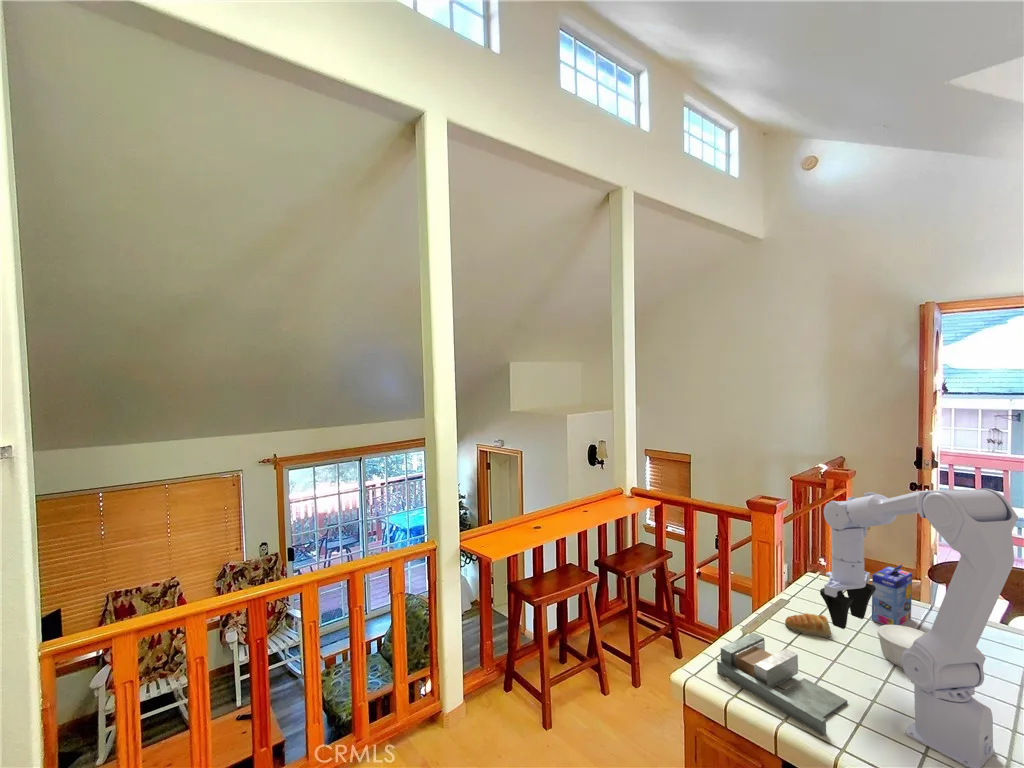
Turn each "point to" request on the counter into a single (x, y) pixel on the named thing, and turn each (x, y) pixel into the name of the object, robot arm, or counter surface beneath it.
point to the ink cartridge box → (892, 596)
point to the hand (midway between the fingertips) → (848, 621)
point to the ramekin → (896, 641)
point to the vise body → (795, 701)
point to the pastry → (809, 624)
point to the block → (751, 660)
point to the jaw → (776, 668)
